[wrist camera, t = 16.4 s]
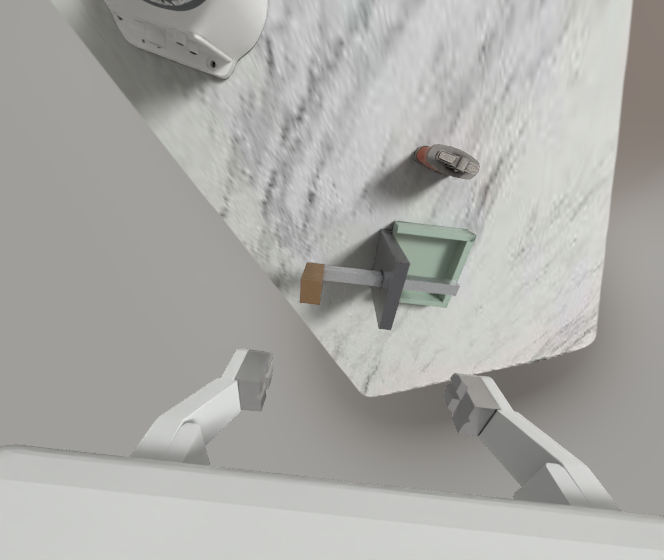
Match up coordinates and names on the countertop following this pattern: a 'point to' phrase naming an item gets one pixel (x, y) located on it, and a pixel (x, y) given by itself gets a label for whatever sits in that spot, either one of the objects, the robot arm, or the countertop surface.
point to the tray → (432, 256)
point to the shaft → (364, 281)
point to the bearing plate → (389, 278)
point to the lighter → (447, 161)
